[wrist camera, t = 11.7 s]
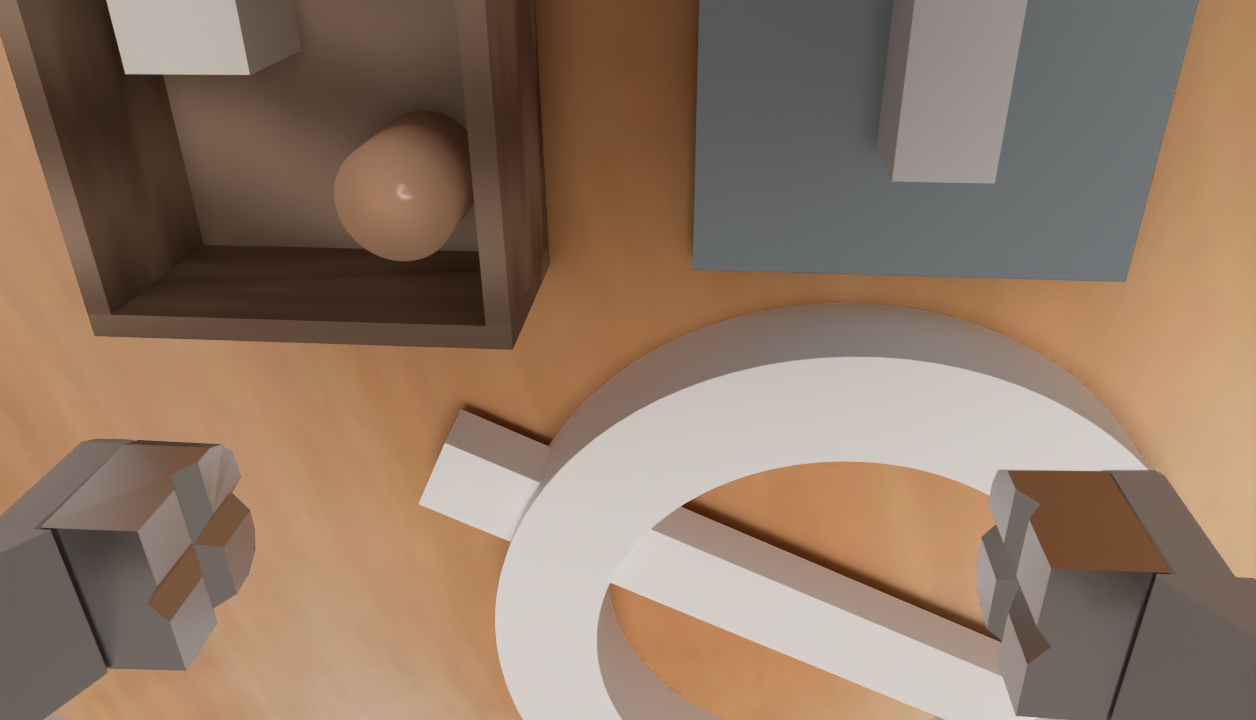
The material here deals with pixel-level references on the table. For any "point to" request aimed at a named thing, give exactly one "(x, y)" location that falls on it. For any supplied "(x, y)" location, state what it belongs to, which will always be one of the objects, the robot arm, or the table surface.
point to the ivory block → (203, 35)
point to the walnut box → (287, 174)
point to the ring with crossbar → (744, 445)
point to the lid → (931, 134)
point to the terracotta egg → (406, 186)
